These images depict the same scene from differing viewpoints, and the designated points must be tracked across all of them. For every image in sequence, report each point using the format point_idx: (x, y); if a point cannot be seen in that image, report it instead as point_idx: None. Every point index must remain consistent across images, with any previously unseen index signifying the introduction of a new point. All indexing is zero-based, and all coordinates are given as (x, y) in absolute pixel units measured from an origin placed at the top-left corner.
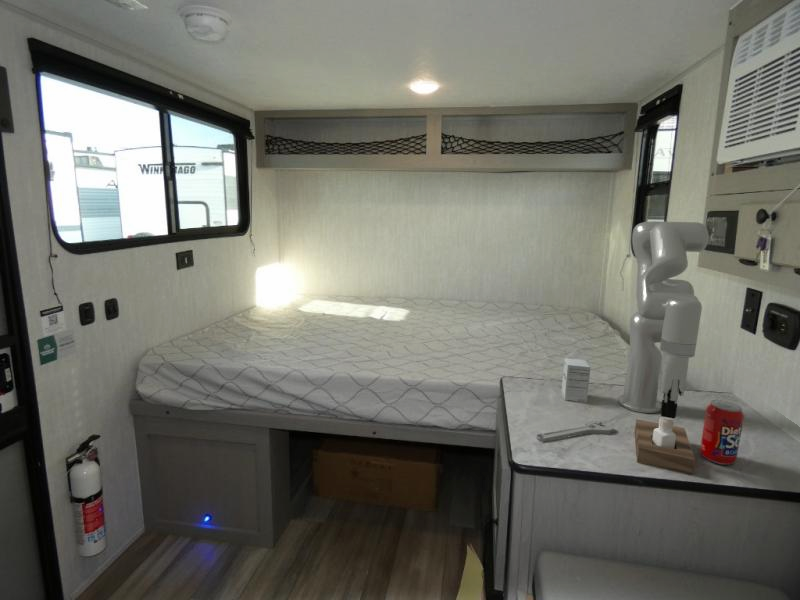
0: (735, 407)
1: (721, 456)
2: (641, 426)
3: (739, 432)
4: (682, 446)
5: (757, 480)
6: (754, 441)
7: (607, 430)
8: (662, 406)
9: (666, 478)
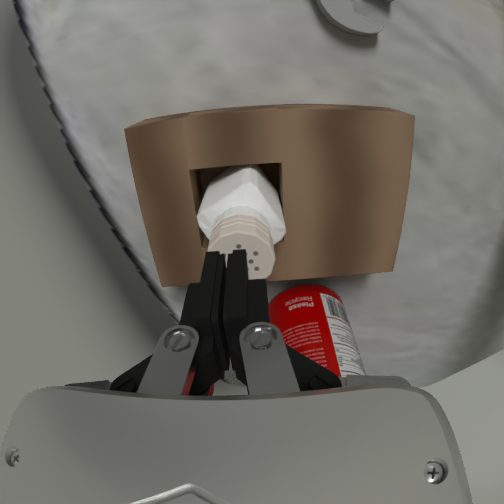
0: None
1: None
2: (350, 129)
3: None
4: None
5: None
6: (412, 356)
7: (324, 8)
8: (199, 292)
9: (107, 202)
